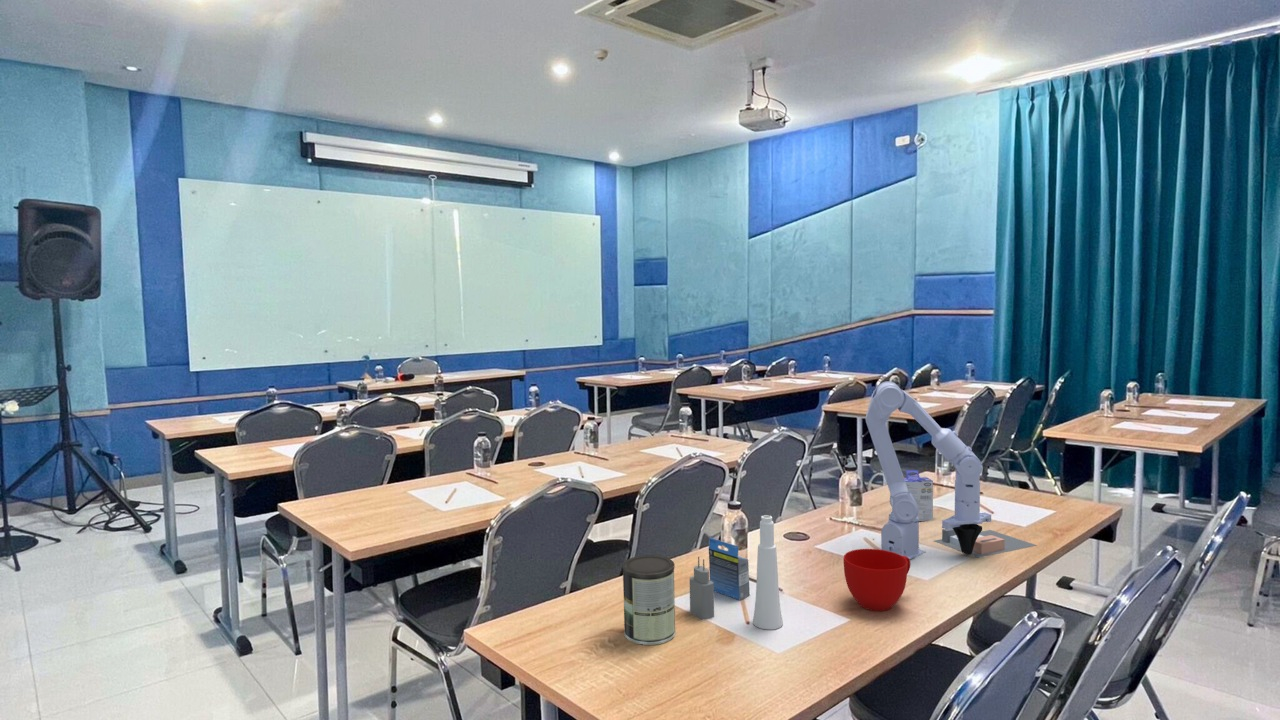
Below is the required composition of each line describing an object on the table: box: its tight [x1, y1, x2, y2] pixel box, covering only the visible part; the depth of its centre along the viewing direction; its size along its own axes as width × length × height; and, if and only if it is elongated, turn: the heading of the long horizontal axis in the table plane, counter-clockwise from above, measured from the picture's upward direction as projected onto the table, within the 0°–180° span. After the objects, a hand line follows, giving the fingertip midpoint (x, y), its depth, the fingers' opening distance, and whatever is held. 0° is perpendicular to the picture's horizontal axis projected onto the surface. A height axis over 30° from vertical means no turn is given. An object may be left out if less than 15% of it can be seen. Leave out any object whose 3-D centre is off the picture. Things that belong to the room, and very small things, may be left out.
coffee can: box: [621, 554, 676, 646], centre depth 138 cm, size 10×10×14 cm
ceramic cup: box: [843, 548, 911, 612], centre depth 151 cm, size 13×17×10 cm
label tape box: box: [708, 536, 751, 601], centre depth 157 cm, size 9×4×12 cm, turn 43°
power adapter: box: [689, 556, 715, 621], centre depth 147 cm, size 3×5×12 cm, turn 30°
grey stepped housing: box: [941, 528, 984, 546], centre depth 186 cm, size 10×8×3 cm
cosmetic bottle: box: [752, 514, 784, 630], centre depth 141 cm, size 6×6×22 cm
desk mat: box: [933, 529, 1038, 559], centre depth 186 cm, size 21×14×1 cm
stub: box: [973, 535, 1005, 554], centre depth 181 cm, size 8×4×3 cm, turn 113°
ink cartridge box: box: [904, 469, 934, 522], centre depth 208 cm, size 10×6×14 cm, turn 89°
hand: (966, 553), depth 177 cm, fingers closed
